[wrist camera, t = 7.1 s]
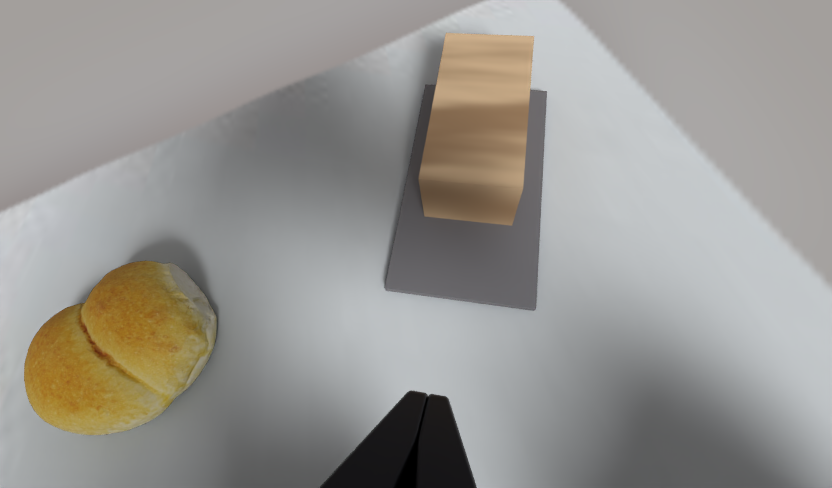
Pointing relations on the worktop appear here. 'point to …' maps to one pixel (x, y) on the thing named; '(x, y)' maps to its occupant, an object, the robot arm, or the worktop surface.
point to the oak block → (478, 129)
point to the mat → (471, 234)
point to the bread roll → (121, 350)
